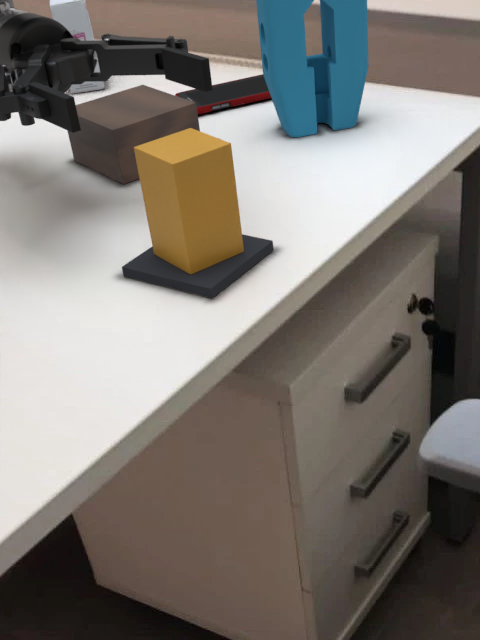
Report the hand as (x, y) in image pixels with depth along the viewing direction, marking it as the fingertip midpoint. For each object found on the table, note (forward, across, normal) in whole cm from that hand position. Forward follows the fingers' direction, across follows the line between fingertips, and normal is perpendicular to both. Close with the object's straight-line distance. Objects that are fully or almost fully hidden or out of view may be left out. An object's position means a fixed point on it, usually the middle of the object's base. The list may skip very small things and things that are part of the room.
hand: (143, 94), depth 75 cm
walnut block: (-23, +11, +14) cm, 29 cm away
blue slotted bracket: (-14, +32, +14) cm, 37 cm away
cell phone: (-31, +32, +14) cm, 46 cm away
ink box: (-54, +22, +14) cm, 61 cm away
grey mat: (+5, 0, +14) cm, 15 cm away
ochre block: (+5, 0, +13) cm, 14 cm away
